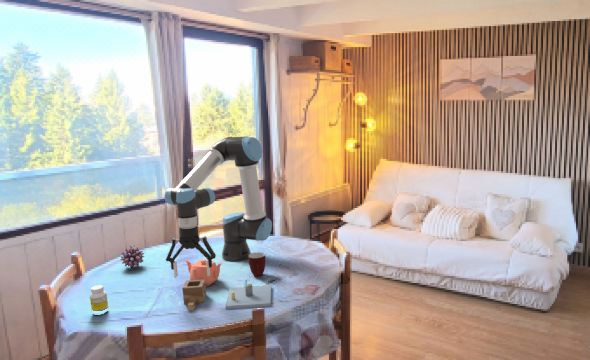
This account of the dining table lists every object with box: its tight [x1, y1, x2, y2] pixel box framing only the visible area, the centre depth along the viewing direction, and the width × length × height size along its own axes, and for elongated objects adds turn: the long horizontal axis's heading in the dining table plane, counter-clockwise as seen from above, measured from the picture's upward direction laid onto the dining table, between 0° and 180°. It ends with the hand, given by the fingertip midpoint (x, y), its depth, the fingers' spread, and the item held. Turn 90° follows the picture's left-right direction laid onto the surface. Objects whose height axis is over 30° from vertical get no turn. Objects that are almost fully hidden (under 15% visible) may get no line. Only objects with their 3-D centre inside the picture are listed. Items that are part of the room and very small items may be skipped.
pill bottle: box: [89, 284, 109, 311], centre depth 182 cm, size 6×6×11 cm
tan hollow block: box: [182, 279, 207, 311], centre depth 187 cm, size 14×8×7 cm, turn 2°
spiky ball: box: [120, 244, 145, 268], centre depth 231 cm, size 12×12×12 cm
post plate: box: [225, 283, 272, 310], centre depth 189 cm, size 18×18×6 cm
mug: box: [247, 251, 267, 278], centre depth 211 cm, size 11×8×10 cm
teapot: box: [184, 259, 224, 288], centre depth 207 cm, size 14×14×11 cm
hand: (192, 275), depth 189 cm, fingers open, 13 cm apart
